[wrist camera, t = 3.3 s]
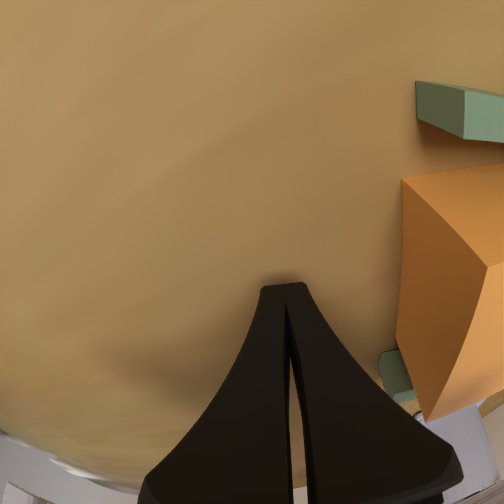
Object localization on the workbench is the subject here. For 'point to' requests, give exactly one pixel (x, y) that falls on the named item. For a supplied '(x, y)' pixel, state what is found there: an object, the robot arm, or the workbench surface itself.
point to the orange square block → (453, 287)
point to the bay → (466, 127)
